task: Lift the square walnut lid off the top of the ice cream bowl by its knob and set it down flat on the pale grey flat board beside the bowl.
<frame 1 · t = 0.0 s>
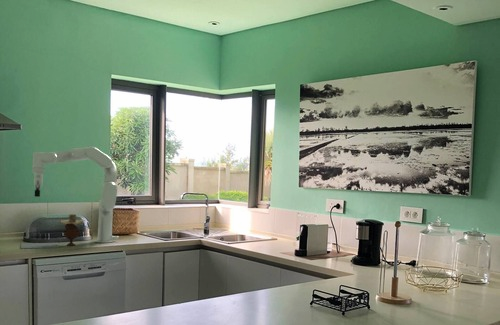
hand: (37, 196, 334), 31 cm above the worktop, tool pointing down, fingers open, 9 cm apart
walnut lid: (72, 222, 329), point 15 cm above the worktop, touching ice cream bowl
pale grey flat board: (39, 246, 322), on the worktop
ice cream bowl: (71, 245, 329), on the worktop, touching walnut lid
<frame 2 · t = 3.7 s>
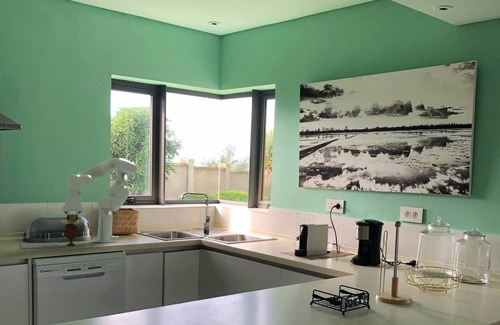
hand: (72, 220, 329), 16 cm above the worktop, tool pointing down, fingers closed on walnut lid, 4 cm apart
walnut lid: (72, 222, 329), point 15 cm above the worktop, touching gripper, ice cream bowl
everything else where it was.
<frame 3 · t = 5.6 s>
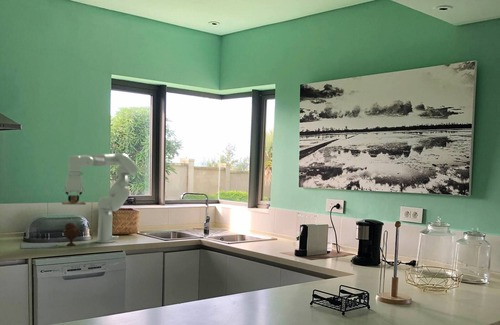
hand: (73, 201, 329), 29 cm above the worktop, tool pointing down, fingers closed on walnut lid, 4 cm apart
walnut lid: (73, 203, 329), point 28 cm above the worktop, touching gripper
ice cream bowl: (70, 245, 329), on the worktop
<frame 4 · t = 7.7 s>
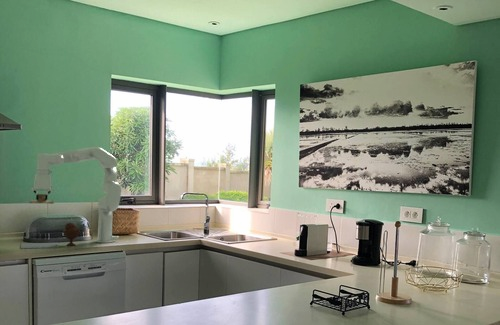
hand: (41, 200, 322), 29 cm above the worktop, tool pointing down, fingers closed on walnut lid, 4 cm apart
walnut lid: (41, 202, 322), point 28 cm above the worktop, touching gripper
everything else where it was.
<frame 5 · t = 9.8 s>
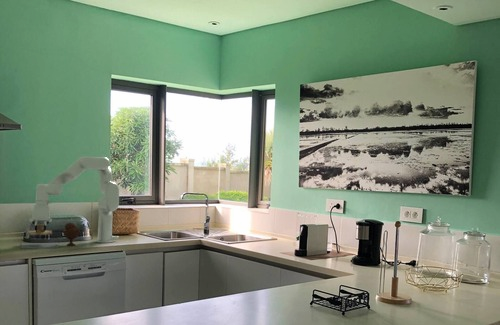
hand: (40, 231, 322), 10 cm above the worktop, tool pointing down, fingers closed on walnut lid, 4 cm apart
walnut lid: (40, 233, 321), point 8 cm above the worktop, touching gripper
everything else where it was.
when the fingers open (3 cm above the worktop, at t = 11.5 s): walnut lid drops 2 cm, resting on pale grey flat board.
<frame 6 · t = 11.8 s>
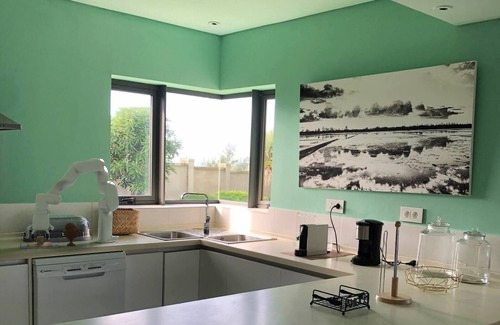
hand: (40, 239, 322), 4 cm above the worktop, tool pointing down, fingers open, 7 cm apart
walnut lid: (39, 245, 322), resting on pale grey flat board
everything else where it was.
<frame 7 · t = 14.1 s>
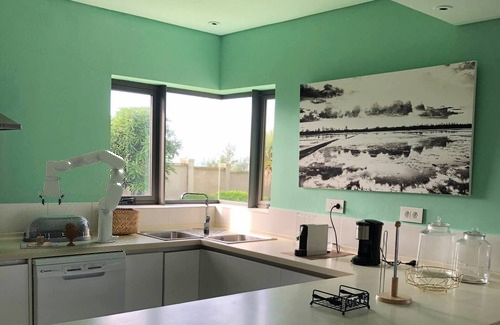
hand: (51, 205, 331), 26 cm above the worktop, tool pointing down, fingers open, 9 cm apart
nothing on the worktop moved.
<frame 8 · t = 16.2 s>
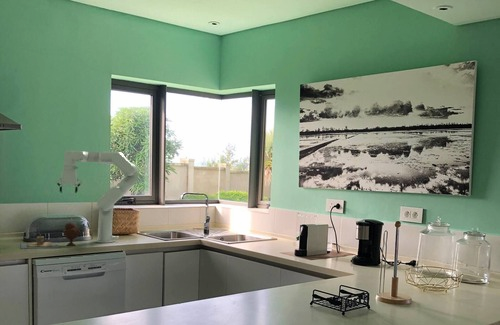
hand: (68, 192, 349), 33 cm above the worktop, tool pointing down, fingers open, 9 cm apart
nothing on the worktop moved.
at the end: walnut lid inside the target area on the pale grey flat board (0.1 cm from its centre), point 0.5 cm above the pale grey flat board's base; walnut lid tilted 0°; walnut lid touching pale grey flat board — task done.
